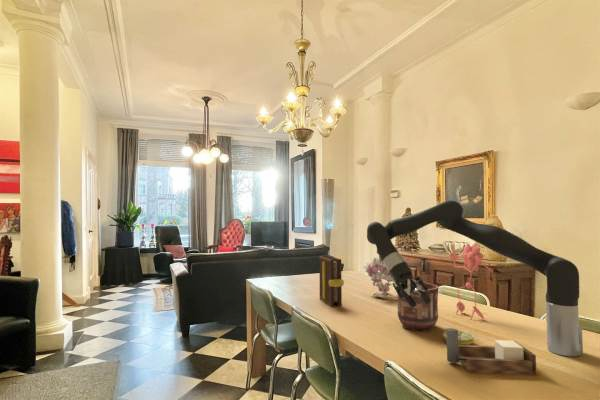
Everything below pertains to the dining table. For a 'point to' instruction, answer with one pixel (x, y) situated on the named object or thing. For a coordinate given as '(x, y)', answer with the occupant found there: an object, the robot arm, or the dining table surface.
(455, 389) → the dining table surface
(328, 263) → the book
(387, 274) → the flower
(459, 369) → the dining table surface
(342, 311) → the dining table surface
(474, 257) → the figurine
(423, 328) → the pottery
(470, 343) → the decorated donut
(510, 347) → the block with knobbed rod
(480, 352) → the walnut lane
